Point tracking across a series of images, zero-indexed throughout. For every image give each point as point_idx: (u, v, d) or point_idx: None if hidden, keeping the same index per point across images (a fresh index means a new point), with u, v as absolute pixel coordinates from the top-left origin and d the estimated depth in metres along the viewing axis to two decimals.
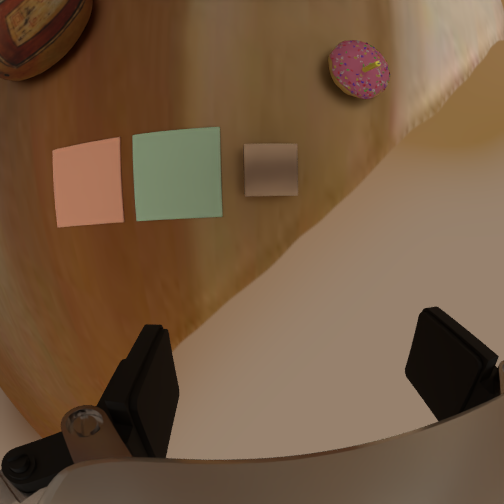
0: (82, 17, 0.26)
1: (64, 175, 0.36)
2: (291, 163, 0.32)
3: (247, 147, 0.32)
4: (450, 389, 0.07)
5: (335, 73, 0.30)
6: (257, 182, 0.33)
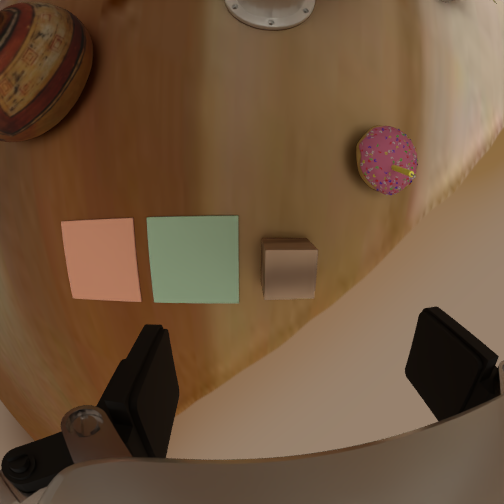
0: (82, 74, 0.27)
1: (76, 249, 0.37)
2: (310, 268, 0.34)
3: (269, 254, 0.33)
4: (450, 389, 0.07)
5: (363, 168, 0.32)
6: (276, 287, 0.34)
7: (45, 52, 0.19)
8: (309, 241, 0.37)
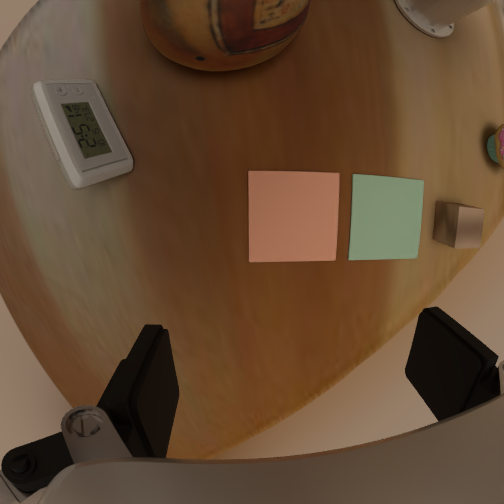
0: None
1: (266, 203, 0.38)
2: (480, 223, 0.34)
3: (460, 210, 0.33)
4: (450, 389, 0.07)
5: (502, 153, 0.32)
6: (462, 238, 0.34)
7: None
8: (467, 205, 0.37)
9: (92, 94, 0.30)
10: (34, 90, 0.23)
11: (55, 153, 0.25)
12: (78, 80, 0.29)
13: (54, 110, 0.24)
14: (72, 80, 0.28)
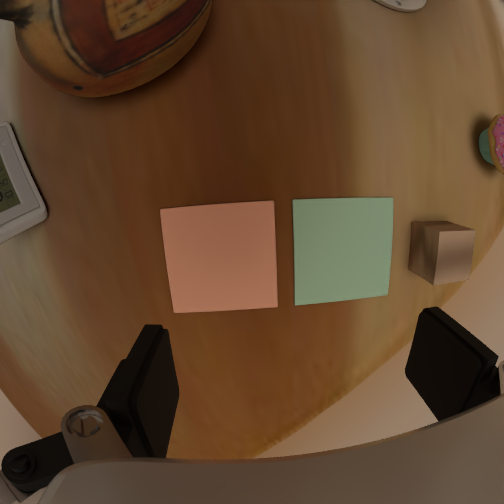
0: (208, 13, 0.21)
1: (184, 246, 0.31)
2: (469, 249, 0.27)
3: (442, 236, 0.27)
4: (450, 389, 0.07)
5: (498, 153, 0.25)
6: (444, 271, 0.28)
7: None
8: None
9: (4, 139, 0.24)
10: None
11: None
12: None
13: None
14: None
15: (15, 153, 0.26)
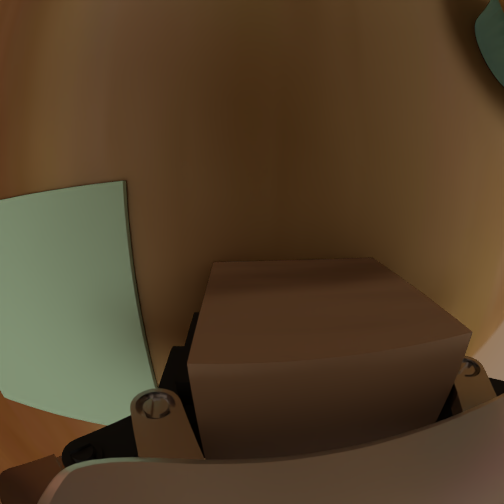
0: None
1: None
2: (422, 413, 0.06)
3: (213, 385, 0.05)
4: None
5: None
6: None
7: None
8: (393, 273, 0.09)
9: None
10: None
11: None
12: None
13: None
14: None
15: None
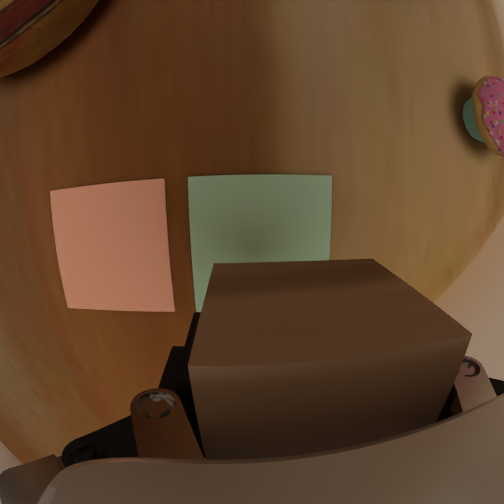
0: None
1: (72, 232, 0.24)
2: (421, 414, 0.06)
3: (214, 386, 0.05)
4: None
5: (486, 121, 0.18)
6: None
7: None
8: (393, 274, 0.09)
9: None
10: None
11: None
12: None
13: None
14: None
15: None
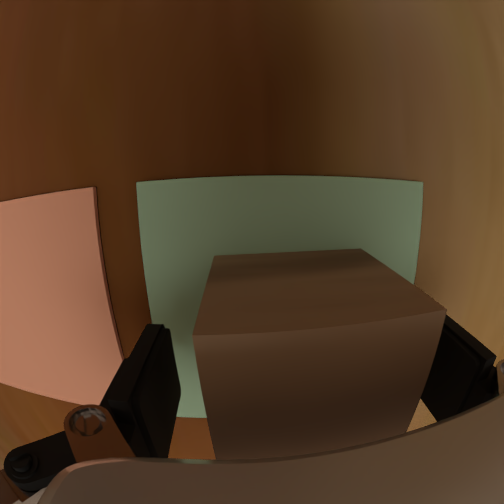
0: None
1: None
2: (406, 386, 0.07)
3: (214, 354, 0.06)
4: (448, 389, 0.07)
5: None
6: None
7: None
8: (378, 261, 0.10)
9: None
10: None
11: None
12: None
13: None
14: None
15: None
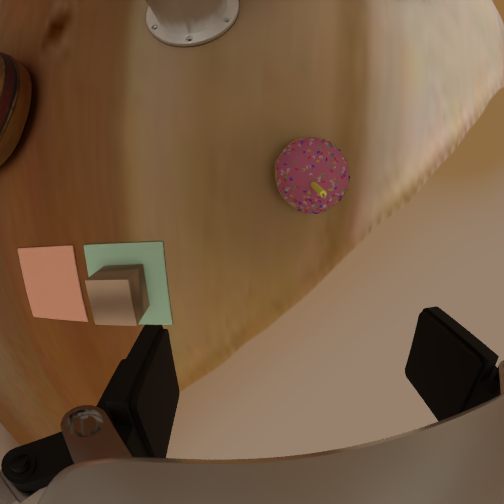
0: (18, 115, 0.26)
1: (31, 273, 0.37)
2: (125, 297, 0.32)
3: (88, 284, 0.32)
4: (450, 389, 0.07)
5: (280, 188, 0.31)
6: (102, 314, 0.33)
7: None
8: (138, 268, 0.36)
9: None
10: None
11: None
12: None
13: None
14: None
15: None
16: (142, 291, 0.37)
